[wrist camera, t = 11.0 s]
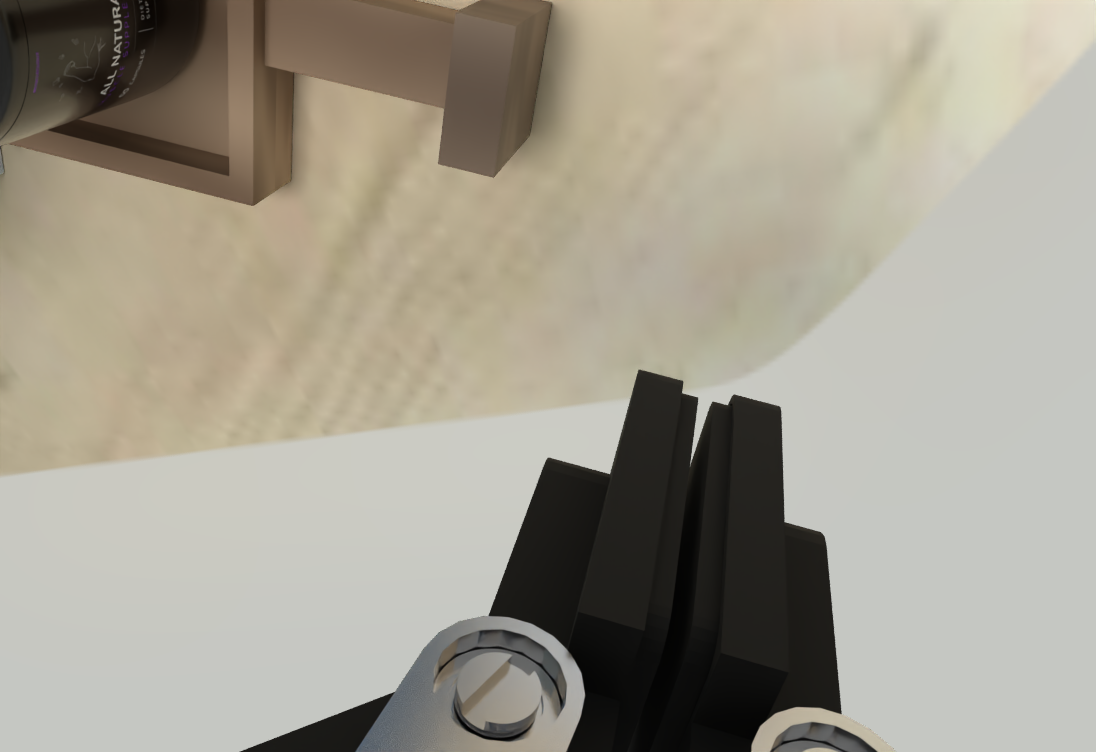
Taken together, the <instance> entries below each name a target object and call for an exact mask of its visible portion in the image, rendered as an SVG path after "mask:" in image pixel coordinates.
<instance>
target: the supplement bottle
mask: <svg viewBox="0 0 1096 752" xmlns="http://www.w3.org/2000/svg"><path fill="white" fill-rule="evenodd" d="M199 15H200V2H199V0H0V146H2V145H5V144H8V143H11V142H14V141H17V140H20V139H22V138H25V137H28V136H31V135H34V134H37V133H40V132H43V131H46V130H49V129H51V128H54V127H57V126H60V125H63V124H66V123H69V122H72V121H75V120H77V119H80V118H83V117H86V116H89V115H92V114H95V113H98V112H101V111H104V110H106V109H109V108H112V107H115V106H118V105H121V104H124V103H127V102H130V101H132V100H134V99H137V98H140V97H142V96H145V95H147V94H150V93H152V92H154V91H156V90H158V89H160V88H161V87H163V86H164V85H166V84H167V83H168V82H170V81H171V80H172V79H173V78H174V77H175V76H176V75H177V74H178V73H179V71H180V70H181V69H182V67H183V66H184V65H185V63H186V61H187V59H188V58H189V56H190V54H191V51H192V49H193V47H194V43H195V40H196V36H197V31H198V26H199Z"/></svg>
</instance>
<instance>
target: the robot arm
mask: <svg viewBox="0 0 1096 752" xmlns="http://www.w3.org/2000/svg"><path fill="white" fill-rule="evenodd" d="M682 389H683V381H681V380H677V379H673V378H670V377H666V376H662V375H658V374H654V373H651V372H647V371H643V370H638V374H637V377H636V381H635V385H634V388H633V392H632V396H631V399H630V403H629V407H628V410H627V414H626V418H625V421H624V425H623V429H622V433H621V436H620V440H619V444H618V447H617V451H616V455H615V458H614V462H613V466H612V469H611V473H610V474H607V473H603V472H599V471H596V470H592V469H588V468H585V467H581V466H578V465H574V464H570V463H566V462H563V461H559V460H556V459H552V458H547V460H546V462H545V465H544V467H543V470H542V472H541V475H540V478H539V480H538V483H537V486H536V489H535V491H534V494H533V497H532V499H531V502H530V505H529V508H528V510H527V513H526V516H525V518H524V521H523V524H522V526H521V529H520V532H519V535H518V537H517V540H516V543H515V545H514V548H513V551H512V554H511V556H510V559H509V562H508V564H507V568H506V570H505V573H504V575H503V578H502V581H501V583H500V586H499V589H498V592H497V594H496V597H495V600H494V602H493V605H492V608H491V611H490V613H489V616H481V617H477V618H472V619H468V620H463V621H459V622H457V623H455V624H454V625H452V626H450V627H448V628H447V629H444V630H442V631H441V632H439V633H438V634H437V635H436V636H435V637H434V638H433V639H432V640H431V641H430V643H429V644H428V645H427V646H426V647H425V648H424V649H423V650H422V652H421V654H420V655H419V657H418V658H417V660H416V661H415V663H414V664H413V666H412V667H411V669H410V670H409V672H408V673H407V675H406V676H405V678H404V679H403V681H402V682H401V684H400V685H399V687H398V688H397V690H396V691H395V692H393V693H391V694H388V695H386V696H383V697H380V698H378V699H375V700H373V701H370V702H368V703H365V704H362V705H360V706H357V707H354V708H352V709H349V710H347V711H344V712H342V713H339V714H337V715H334V716H331V717H329V718H326V719H324V720H321V721H318V722H316V723H313V724H311V725H308V726H305V727H303V728H300V729H298V730H295V731H292V732H290V733H287V734H285V735H282V736H279V737H277V738H274V739H272V740H269V741H266V742H264V743H262V744H259V745H256V746H253V747H251V748H248V749H246V750H243V751H241V752H895V750H894V749H893V748H892V747H891V746H890V745H888V744H887V743H886V742H885V741H884V740H883V739H881V738H880V737H879V736H878V735H877V734H875V733H874V732H873V731H872V730H871V729H869V728H867V727H865V726H863V725H862V724H860V723H858V722H856V721H854V720H853V719H851V718H849V717H847V716H845V715H842V713H841V702H840V691H839V680H838V670H837V658H836V648H835V636H834V624H833V614H832V602H831V592H830V580H829V569H828V558H827V547H826V542H825V537H824V535H823V534H822V533H821V532H818V531H814V530H811V529H807V528H803V527H800V526H796V525H792V524H789V523H785V522H784V489H783V455H782V421H781V408H780V407H779V406H776V405H772V404H768V403H765V402H761V401H757V400H753V399H749V398H746V397H742V396H738V395H733V396H732V398H731V400H730V402H729V404H728V405H724V404H720V403H717V402H712V404H711V406H710V408H709V411H708V414H707V417H706V420H705V423H704V426H703V429H702V432H701V435H700V438H699V441H698V444H697V447H696V451H695V453H694V456H693V459H692V462H691V465H690V461H691V453H692V445H693V437H694V428H695V421H696V413H697V405H698V397H694V396H690V395H686V394H683V393H682Z"/></svg>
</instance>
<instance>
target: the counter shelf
mask: <svg viewBox="0 0 1096 752" xmlns="http://www.w3.org/2000/svg"><path fill="white" fill-rule="evenodd" d="M3 173H4V169H3V162H2V156H1V149H0V174H3Z"/></svg>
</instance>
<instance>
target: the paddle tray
mask: <svg viewBox="0 0 1096 752" xmlns="http://www.w3.org/2000/svg"><path fill="white" fill-rule="evenodd" d="M199 2H200V15H199V26H198V31H197V36H196V40H195V43H194V47H193V49H192V51H191V54H190V56H189V58H188V59H187V61H186V63H185V65H184V66H183V67H182V69H181V70H180V71H179V73H178V74H177V75H176V76H175V77H174V78H173V79H172V80H171V81H170V82H168V83H167V84H166V85H164V86H163V87H161V88H160V89H158V90H156V91H154V92H152V93H150V94H147V95H145V96H142V97H140V98H137V99H134V100H132V101H130V102H127V103H124V104H121V105H118V106H115V107H112V108H109V109H106V110H104V111H101V112H98V113H95V114H92V115H89V116H86V117H83V118H80V119H77V120H75V121H72V122H69V123H66V124H63V125H60V126H57V127H54V128H51V129H49V130H46V131H43V132H40V133H37V134H34V135H31V136H28V137H25V138H22V139H20V140H17V141H14V142H11V143H8V144H12V145H15V146H19V147H23V148H27V149H31V150H35V151H39V152H43V153H47V154H51V155H55V156H59V157H63V158H66V159H70V160H74V161H78V162H82V163H86V164H90V165H94V166H98V167H102V168H106V169H110V170H114V171H118V172H121V173H125V174H129V175H133V176H137V177H141V178H145V179H149V180H153V181H157V182H161V183H165V184H169V185H173V186H176V187H180V188H184V189H188V190H192V191H196V192H200V193H204V194H208V195H212V196H216V197H220V198H224V199H228V200H231V201H235V202H239V203H243V204H247V205H251V206H254V205H255V204H257V203H258V202H260V201H261V200H263V199H264V198H266V197H267V196H269V195H270V194H272V193H273V192H275V191H276V190H278V189H279V188H281V187H282V186H284V185H285V184H287V183H288V182H290V181H291V157H292V117H293V77H294V72H295V73H299V74H303V75H307V76H311V77H315V78H320V79H324V80H328V81H332V82H336V83H340V84H345V85H349V86H353V87H357V88H361V89H365V90H370V91H374V92H378V93H382V94H386V95H390V96H395V97H399V98H403V99H407V100H411V101H415V102H420V103H424V104H428V105H432V106H436V107H440V108H445V109H444V117H443V126H442V135H441V144H440V152H439V161H438V164H440V165H444V166H448V167H453V168H457V169H461V170H465V171H469V172H473V173H477V174H481V175H485V176H489V177H493V178H494V177H495V175H496V174H497V173H498V172H499V171H500V170H501V168H502V167H503V166H504V165H505V164H506V163H507V161H508V160H509V159H510V158H511V157H512V156H513V154H514V153H515V152H516V151H517V150H518V149H519V147H520V146H521V145H522V144H523V143H524V142H525V140H526V139H527V138H528V137H529V136H530V131H531V125H532V119H533V113H534V107H535V101H536V95H537V89H538V83H539V77H540V71H541V65H542V59H543V53H544V47H545V41H546V36H547V30H548V24H549V18H550V12H551V6H552V3H551V2H546V1H542V0H480V1H478V2H476V3H474V4H472V5H470V6H468V7H466V8H464V9H461V10H459V11H458V10H454V9H449V8H445V7H441V6H436V5H432V4H428V3H423V2H419V1H415V0H199Z"/></svg>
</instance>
